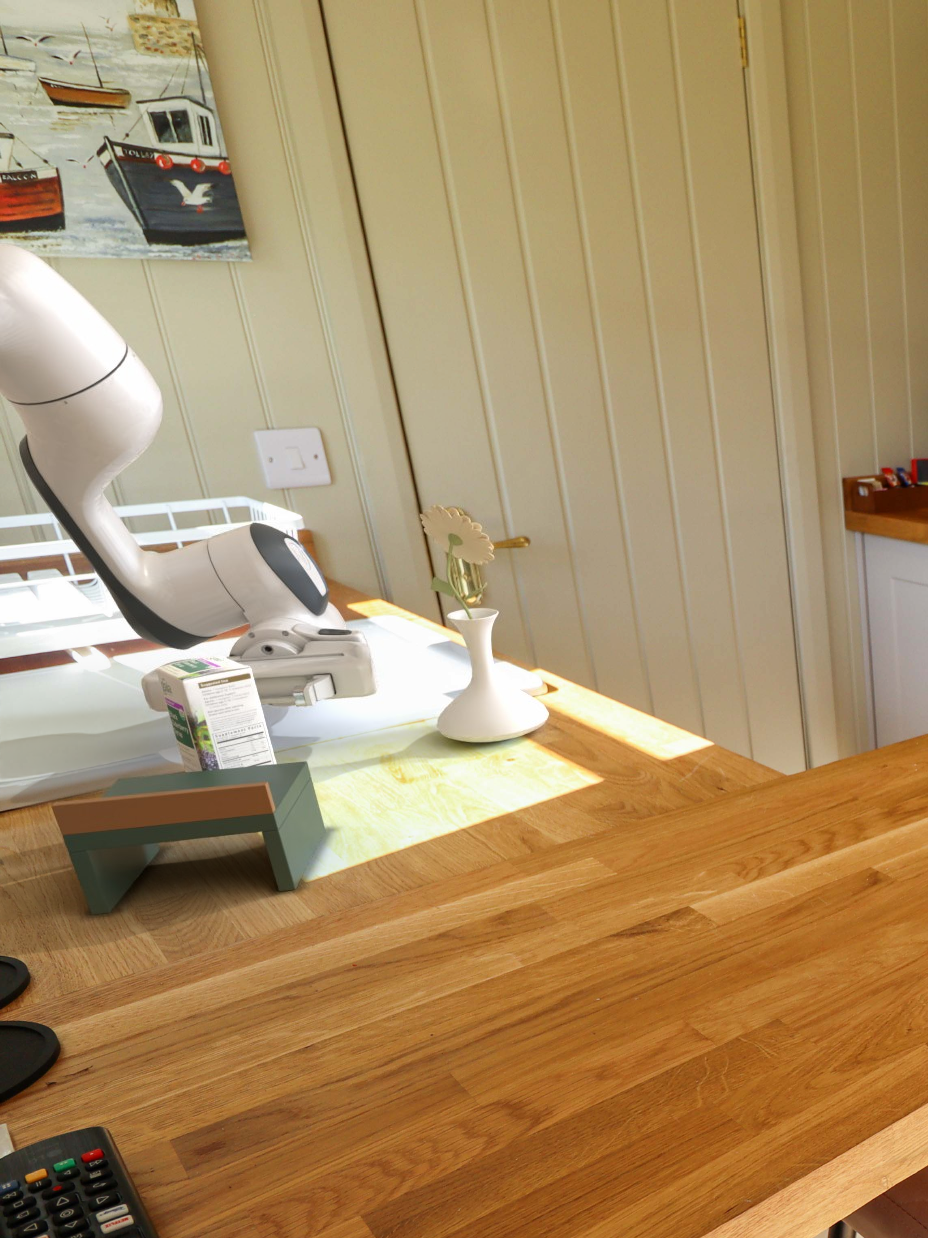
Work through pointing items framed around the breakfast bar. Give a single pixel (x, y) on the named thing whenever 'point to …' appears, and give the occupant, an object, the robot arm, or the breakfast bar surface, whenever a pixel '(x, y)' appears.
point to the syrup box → (216, 714)
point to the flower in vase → (477, 646)
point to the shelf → (189, 823)
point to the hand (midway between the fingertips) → (247, 703)
